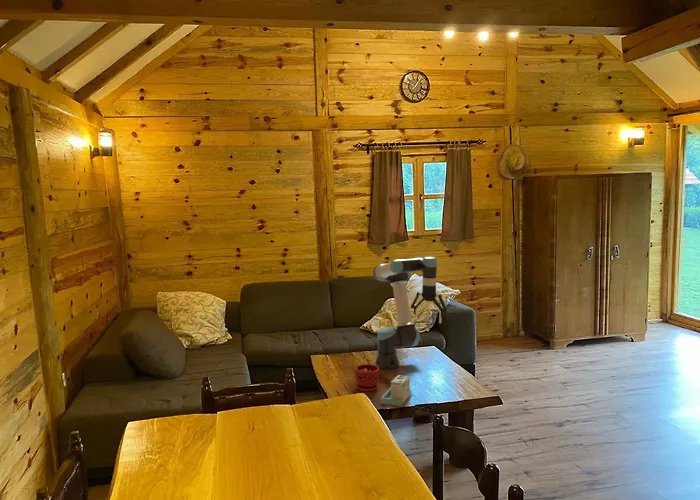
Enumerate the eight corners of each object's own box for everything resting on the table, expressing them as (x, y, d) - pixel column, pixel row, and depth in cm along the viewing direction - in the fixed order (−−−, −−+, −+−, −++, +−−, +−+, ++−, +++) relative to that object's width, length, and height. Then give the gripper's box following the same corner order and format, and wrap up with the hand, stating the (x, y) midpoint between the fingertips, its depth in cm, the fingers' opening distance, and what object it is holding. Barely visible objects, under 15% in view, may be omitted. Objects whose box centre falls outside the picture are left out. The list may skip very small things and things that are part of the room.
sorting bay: (380, 404, 261) (380, 398, 261) (390, 392, 276) (390, 387, 275) (403, 407, 256) (403, 401, 256) (412, 395, 271) (412, 389, 271)
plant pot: (363, 394, 274) (362, 373, 273) (351, 387, 286) (350, 366, 284) (384, 389, 280) (383, 368, 279) (371, 382, 292) (371, 362, 291)
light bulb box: (398, 394, 272) (397, 374, 271) (410, 396, 269) (409, 376, 268) (390, 401, 262) (390, 381, 261) (403, 403, 259) (402, 383, 258)
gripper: (405, 284, 288) (405, 320, 292) (450, 288, 279) (449, 325, 283) (409, 281, 295) (408, 317, 299) (452, 285, 286) (451, 322, 290)
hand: (428, 321), depth 291 cm, fingers open, 13 cm apart
